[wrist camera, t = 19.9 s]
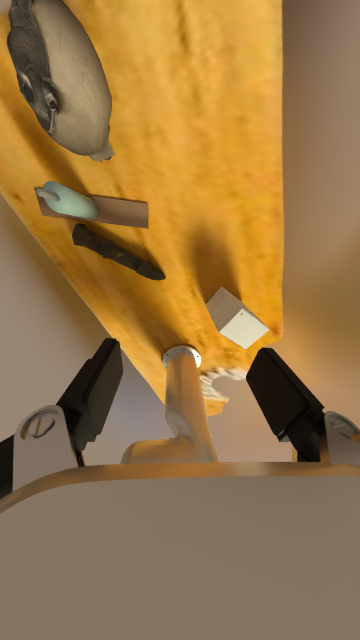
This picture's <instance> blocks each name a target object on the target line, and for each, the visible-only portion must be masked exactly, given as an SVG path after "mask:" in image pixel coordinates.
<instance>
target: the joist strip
mask: <svg viewBox="0 0 360 640" xmlns="http://www.w3.org/2000/svg"><path fill="white" fill-rule="evenodd" d="M35 191H36V188H35ZM36 195H37V193H36ZM85 196H87V197H89V198H91V199H93V200H94V201H95V203H96V204H97V206H98V209H99V214H98V216H97V218H95V219H87V218H82V217H77V216H72V215H67V214H62V213H58V212H56V211H54V210H53V209H51V208H50V207H49V206H48V204H47V203H46V201H45V199H44V197H41V196H39V195H37V198H38V202H39V205H40V208H41V212H42V215H45V216H53V217H61V218H69V219H77V220H85V221H93V222H101V223H109V224H117V225H125V226H133V227H141V228H148V204H147V203H140V202H133V201H125V200H118V199H111V198H104V197H97V196H90V195H85Z"/></svg>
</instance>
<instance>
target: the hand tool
mask: <svg viewBox="0 0 360 640" xmlns="http://www.w3.org/2000/svg"><path fill="white" fill-rule="evenodd" d="M72 238H73V242H74V244H75V245H80V246H85V247H87V248H89V249H91V250H93V251H95V252H97V253H98V254H100V255H102V256H103V258H109V259H111V260H114V261H116V262H117V263H120V264H122V265H124V266H126V267H128V268H130V269H132V270H134V271H136V272H137V273H138V274H140V275H142V276H145V277H146V278H149V279H152V280H164V279H165V278H166V277H165V275H164V274H163V273H162V272H161V271H160V270H159V269H157V268H156V267H155V266H153V265H152V264H151V263H149V262H148V261H145V260H143V259H141V258H139V257H137V256H136V255H134V254H132V253H130V252H129V251H127V250H125V249H123V248H121V247H119V246H118V245H116V244H114V243H113V242H111V241H109V240H108V239H106V238H103V237H102V236H99V235H97V234H96V233H94V232H92V231H90V230H89V229H87V228H86V226H85V224H82V223H78V224H76V226H75V227H74V231H73V234H72Z"/></svg>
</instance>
